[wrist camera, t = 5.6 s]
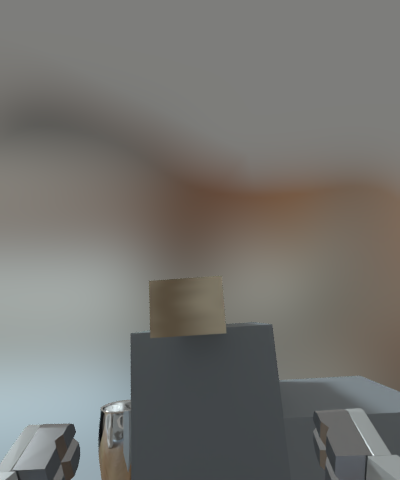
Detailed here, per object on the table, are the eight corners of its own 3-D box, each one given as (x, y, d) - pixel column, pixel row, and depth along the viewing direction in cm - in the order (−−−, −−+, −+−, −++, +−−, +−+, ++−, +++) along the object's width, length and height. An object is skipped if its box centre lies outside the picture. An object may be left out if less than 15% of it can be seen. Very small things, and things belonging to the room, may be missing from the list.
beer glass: (135, 503, 46) (134, 396, 50) (157, 525, 41) (154, 404, 45) (89, 524, 42) (92, 406, 46) (106, 551, 37) (108, 415, 41)
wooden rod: (150, 338, 16) (149, 281, 16) (192, 326, 39) (191, 302, 40) (226, 333, 15) (221, 275, 16) (223, 324, 39) (221, 300, 39)
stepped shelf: (132, 764, 19) (130, 333, 26) (169, 578, 32) (161, 328, 39) (531, 767, 18) (420, 314, 24) (396, 572, 31) (349, 316, 38)
